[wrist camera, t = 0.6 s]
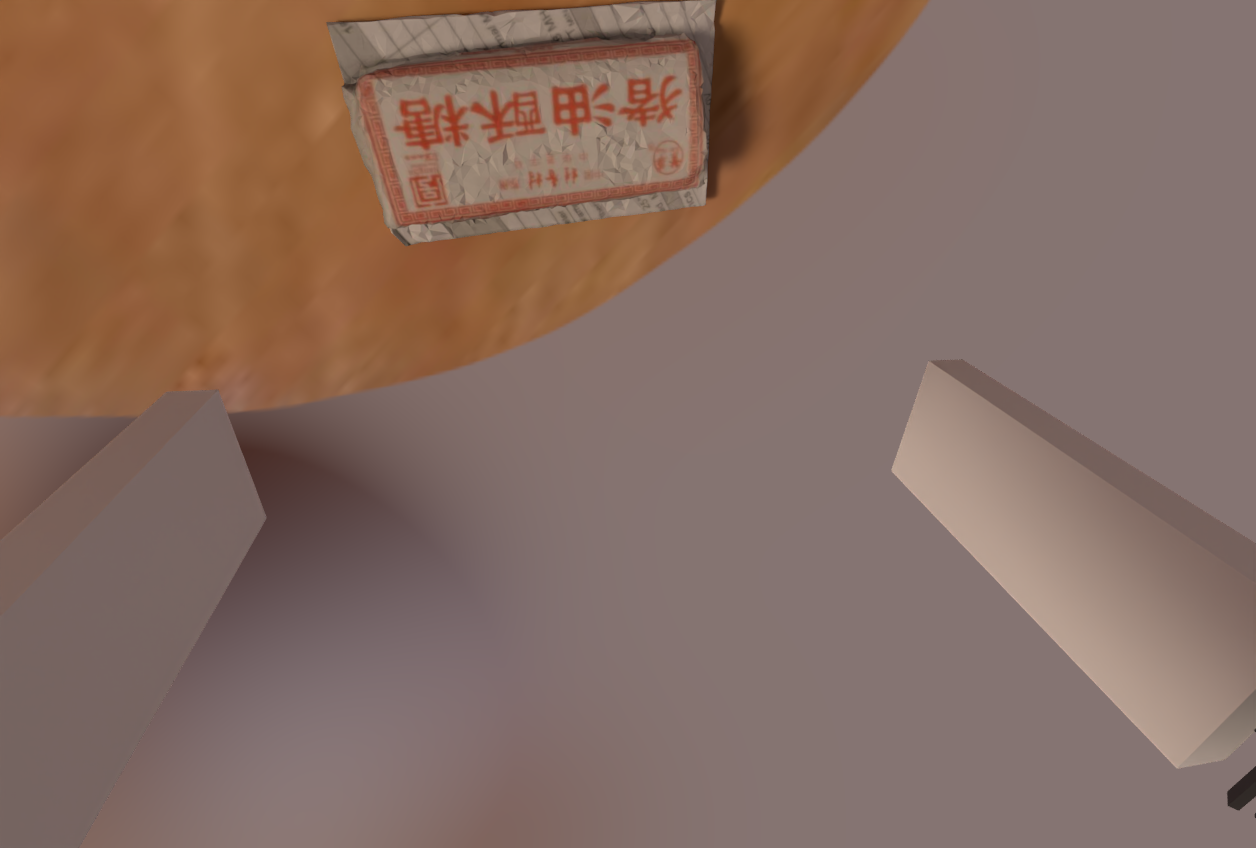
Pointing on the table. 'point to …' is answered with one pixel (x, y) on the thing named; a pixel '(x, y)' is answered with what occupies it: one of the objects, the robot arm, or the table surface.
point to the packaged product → (530, 114)
